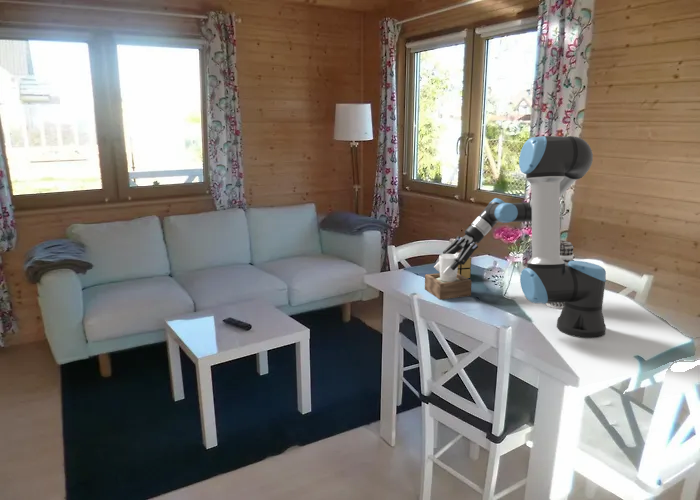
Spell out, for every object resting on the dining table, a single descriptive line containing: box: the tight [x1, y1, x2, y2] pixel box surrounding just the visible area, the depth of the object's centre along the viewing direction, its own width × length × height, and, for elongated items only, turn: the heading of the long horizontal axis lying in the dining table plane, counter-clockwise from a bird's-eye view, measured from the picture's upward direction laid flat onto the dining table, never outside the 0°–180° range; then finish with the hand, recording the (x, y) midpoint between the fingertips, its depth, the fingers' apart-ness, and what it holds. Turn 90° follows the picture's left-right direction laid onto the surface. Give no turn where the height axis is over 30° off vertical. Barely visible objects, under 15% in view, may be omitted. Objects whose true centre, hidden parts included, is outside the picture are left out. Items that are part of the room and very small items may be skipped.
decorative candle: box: [545, 239, 575, 310], centre depth 197 cm, size 9×9×25 cm
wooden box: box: [424, 272, 473, 300], centre depth 214 cm, size 14×14×6 cm
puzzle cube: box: [455, 252, 472, 279], centre depth 237 cm, size 10×10×10 cm
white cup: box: [438, 253, 458, 282], centre depth 213 cm, size 8×8×10 cm
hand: (440, 271), depth 212 cm, fingers closed on white cup, 8 cm apart
